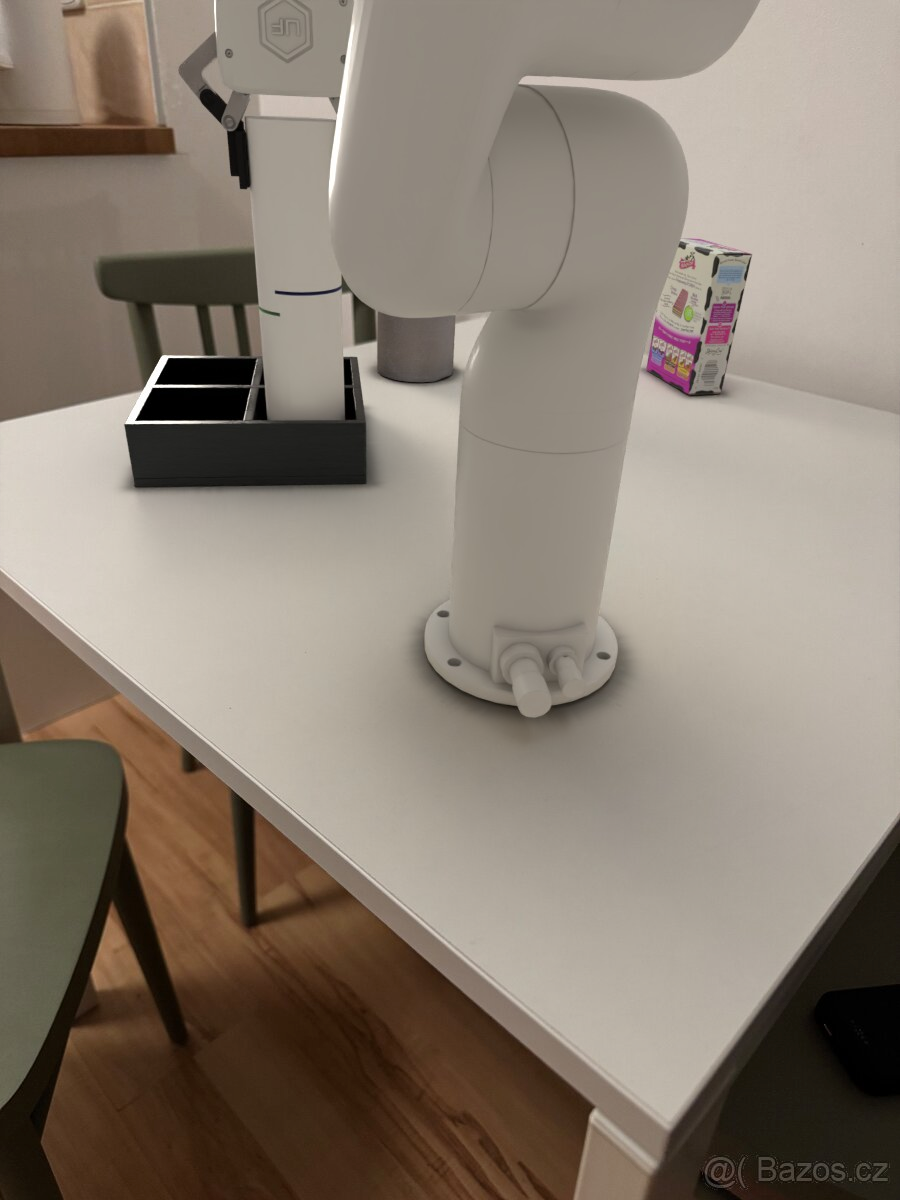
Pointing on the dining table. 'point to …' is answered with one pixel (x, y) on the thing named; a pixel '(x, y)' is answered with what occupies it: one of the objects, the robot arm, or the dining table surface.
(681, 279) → the candy bar box
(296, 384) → the cylindrical container
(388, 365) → the pillar candle
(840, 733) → the dining table surface
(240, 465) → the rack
